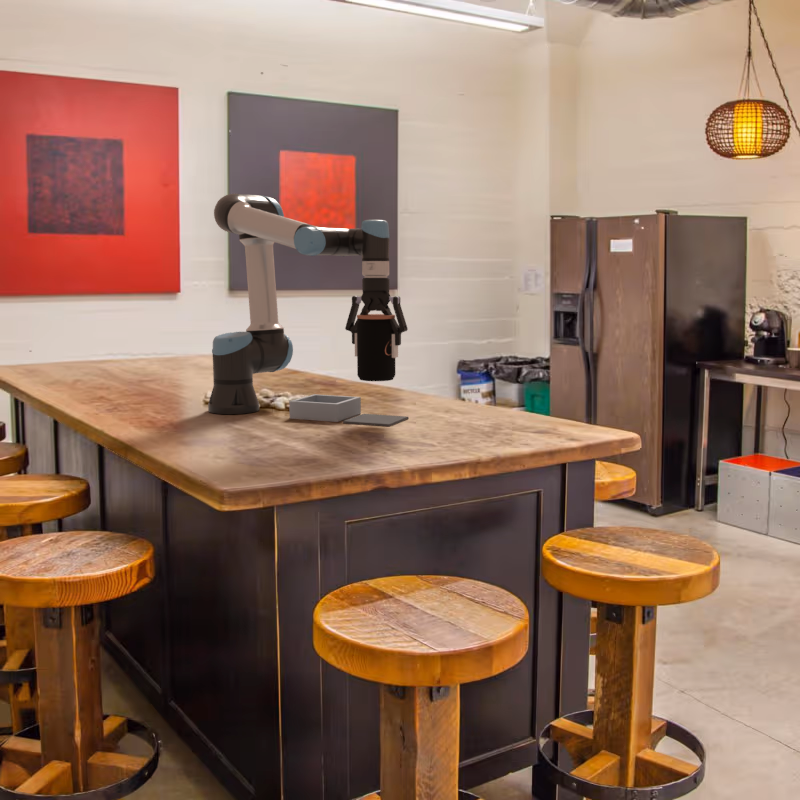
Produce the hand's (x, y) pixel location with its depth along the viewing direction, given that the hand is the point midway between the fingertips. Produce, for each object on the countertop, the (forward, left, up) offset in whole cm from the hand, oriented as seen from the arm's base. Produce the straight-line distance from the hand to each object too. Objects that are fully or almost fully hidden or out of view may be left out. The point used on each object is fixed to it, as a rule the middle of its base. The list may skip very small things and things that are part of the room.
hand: (376, 356), depth 257 cm
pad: (0, 0, -18) cm, 18 cm away
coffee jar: (0, 0, -7) cm, 7 cm away
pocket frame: (-17, +2, -18) cm, 25 cm away
